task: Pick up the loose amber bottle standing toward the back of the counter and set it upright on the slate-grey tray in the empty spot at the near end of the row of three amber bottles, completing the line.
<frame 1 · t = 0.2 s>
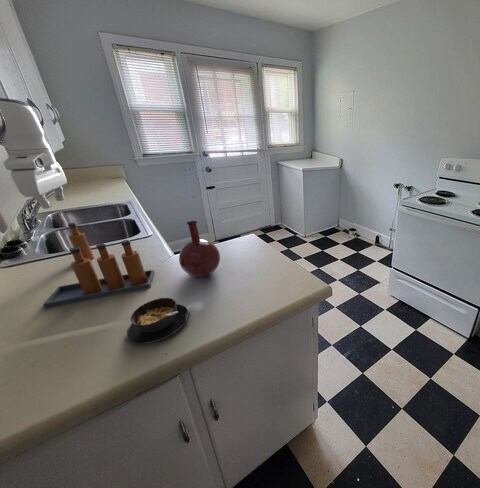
hand: (54, 204, 86), 27 cm above the countertop, tool pointing down, fingers open, 8 cm apart
soup bowl: (160, 327, 73), on the countertop
bottle a: (93, 291, 88), point 1 cm above the countertop, touching tray
round-bottom flask: (204, 274, 98), on the countertop
bottle c: (139, 282, 92), point 1 cm above the countertop, touching tray
loose bottle: (87, 259, 110), on the countertop
bottle b: (117, 286, 90), point 1 cm above the countertop, touching tray
tray: (106, 290, 89), on the countertop
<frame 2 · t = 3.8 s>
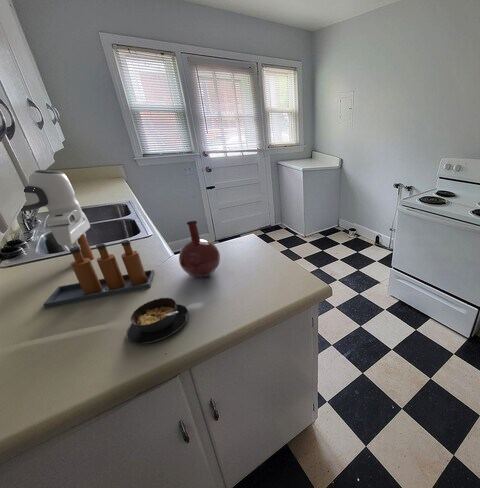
hand: (81, 247, 107), 6 cm above the countertop, tool pointing down, fingers closed on loose bottle, 4 cm apart
loose bottle: (87, 259, 110), on the countertop, touching gripper
everything else where it was.
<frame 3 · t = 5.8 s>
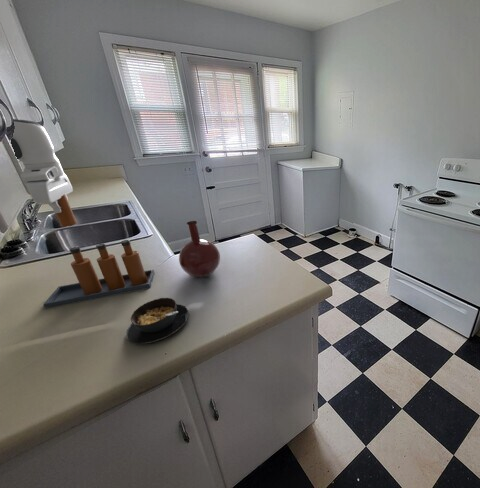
hand: (62, 210, 98), 22 cm above the countertop, tool pointing down, fingers closed on loose bottle, 4 cm apart
loose bottle: (69, 224, 100), point 16 cm above the countertop, touching gripper
everything else where it was.
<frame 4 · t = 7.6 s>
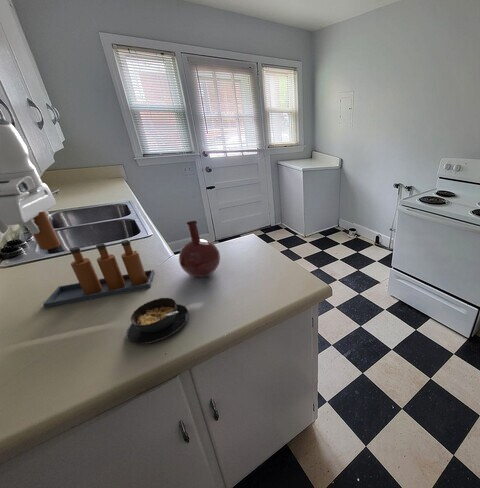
hand: (41, 229, 79), 22 cm above the countertop, tool pointing down, fingers closed on loose bottle, 4 cm apart
loose bottle: (50, 246, 82), point 17 cm above the countertop, touching gripper
everything else where it was.
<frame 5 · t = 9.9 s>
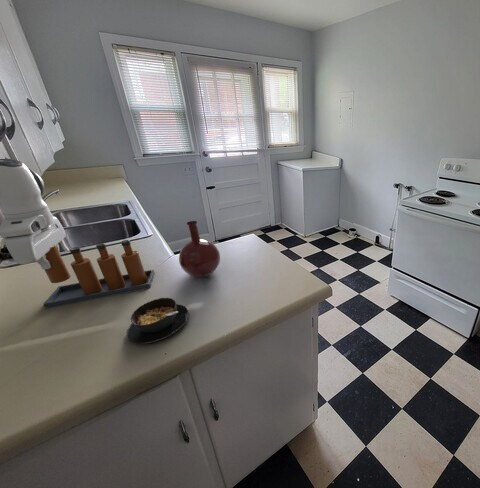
hand: (52, 263, 81), 12 cm above the countertop, tool pointing down, fingers closed on loose bottle, 4 cm apart
loose bottle: (60, 279, 83), point 7 cm above the countertop, touching gripper
everything else where it was.
when the fingers open (6 cm above the countertop, at t = 11.8 s): loose bottle stays where it is, resting on tray.
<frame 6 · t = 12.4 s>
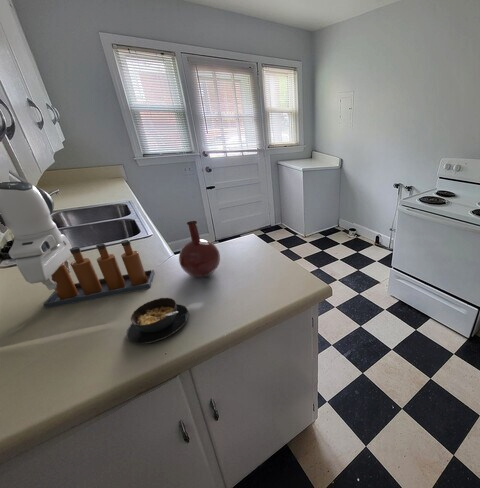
hand: (60, 280, 83), 6 cm above the countertop, tool pointing down, fingers open, 8 cm apart
loose bottle: (69, 295, 86), point 1 cm above the countertop, touching tray
everything else where it was.
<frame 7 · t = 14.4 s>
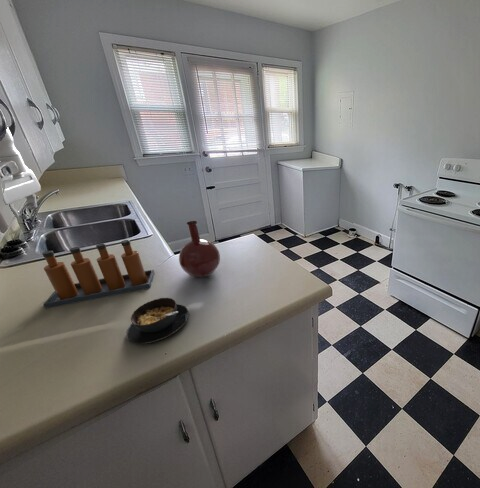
hand: (25, 212, 83), 26 cm above the countertop, tool pointing down, fingers open, 8 cm apart
nothing on the countertop moved.
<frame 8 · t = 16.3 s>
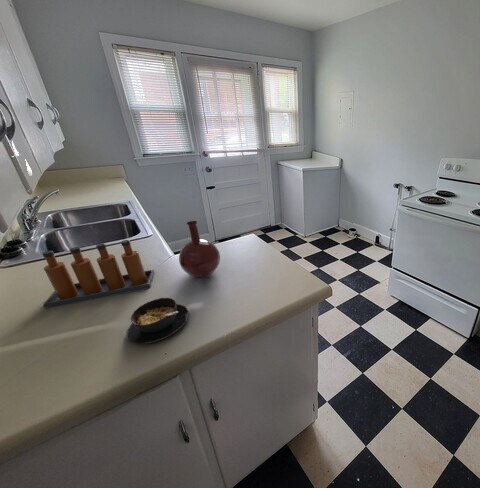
hand: (18, 195, 88), 29 cm above the countertop, tool pointing down, fingers open, 8 cm apart
nothing on the countertop moved.
at the end: loose bottle 0.1 cm from the target spot in the tray, point 0.6 cm above the tray's base; loose bottle tilted 0°; bottle a moved 0.0 cm from its start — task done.
